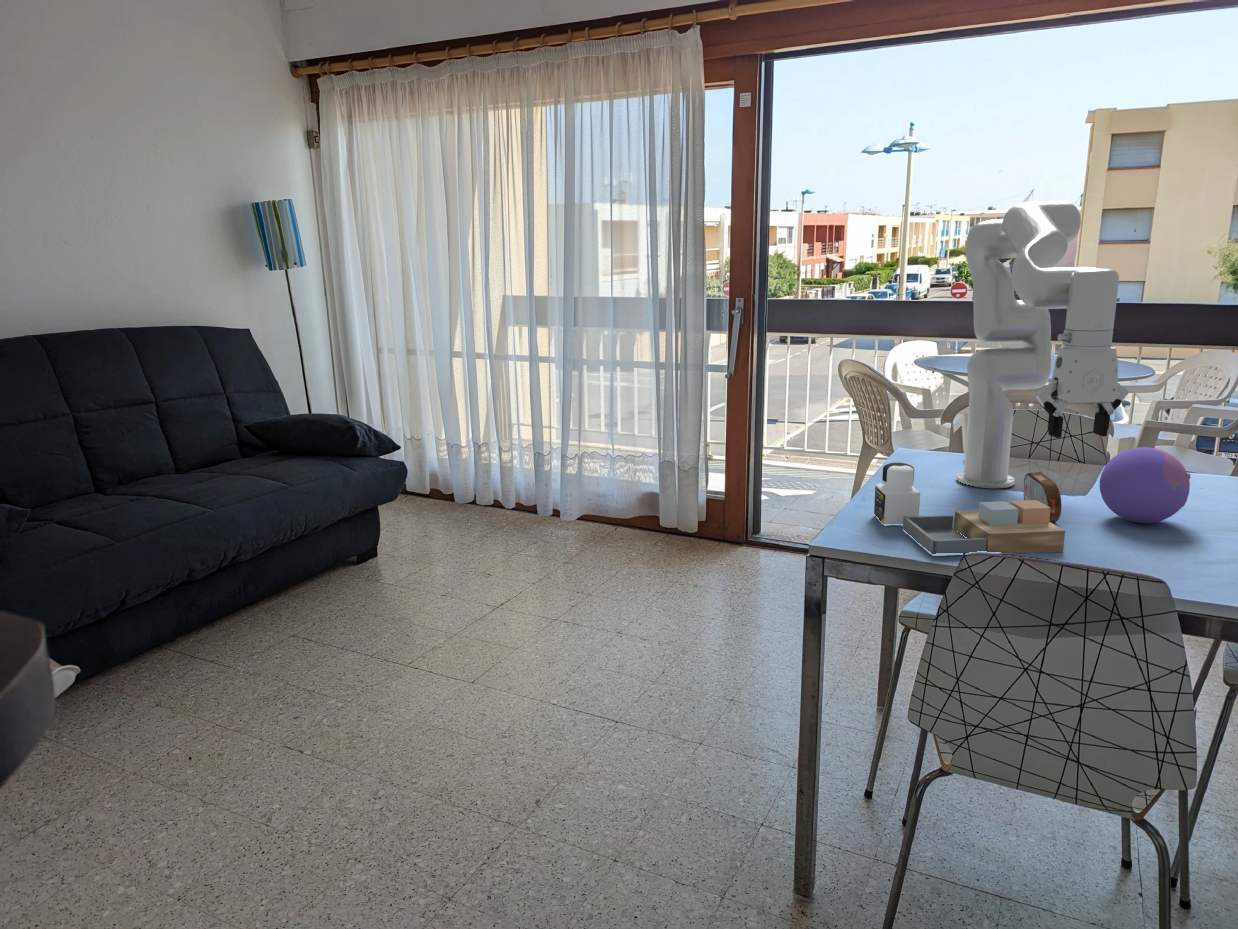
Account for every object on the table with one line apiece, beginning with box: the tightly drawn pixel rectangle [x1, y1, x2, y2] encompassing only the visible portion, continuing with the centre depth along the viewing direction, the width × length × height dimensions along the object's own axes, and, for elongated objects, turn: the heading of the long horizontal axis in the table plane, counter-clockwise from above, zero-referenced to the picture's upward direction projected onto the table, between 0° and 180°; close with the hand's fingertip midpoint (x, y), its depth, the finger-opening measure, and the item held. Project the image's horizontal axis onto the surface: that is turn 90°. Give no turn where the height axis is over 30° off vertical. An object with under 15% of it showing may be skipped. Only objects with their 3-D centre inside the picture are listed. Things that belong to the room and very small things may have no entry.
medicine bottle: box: [873, 462, 921, 524], centre depth 166 cm, size 7×7×12 cm
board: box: [953, 509, 1066, 555], centre depth 154 cm, size 14×14×4 cm
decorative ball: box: [1099, 446, 1191, 524], centre depth 161 cm, size 15×15×15 cm
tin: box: [1023, 471, 1062, 523], centre depth 167 cm, size 15×3×8 cm, turn 172°
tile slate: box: [978, 500, 1019, 525], centre depth 153 cm, size 5×5×3 cm
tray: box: [902, 514, 987, 555], centre depth 154 cm, size 14×10×3 cm
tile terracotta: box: [1009, 499, 1051, 524], centre depth 153 cm, size 5×5×3 cm
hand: (1077, 435), depth 150 cm, fingers open, 7 cm apart
